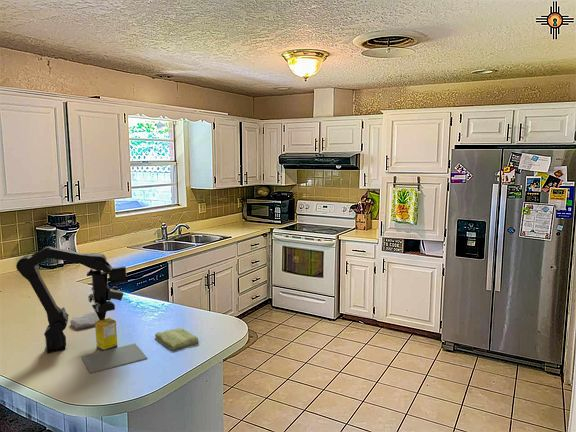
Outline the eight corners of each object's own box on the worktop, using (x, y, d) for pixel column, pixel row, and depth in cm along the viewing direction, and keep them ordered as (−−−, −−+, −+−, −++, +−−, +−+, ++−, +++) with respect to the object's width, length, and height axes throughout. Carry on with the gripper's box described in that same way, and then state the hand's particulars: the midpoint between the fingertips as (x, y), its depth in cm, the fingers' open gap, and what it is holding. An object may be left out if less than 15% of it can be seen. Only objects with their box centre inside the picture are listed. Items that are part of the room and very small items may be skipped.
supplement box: (110, 342, 178) (108, 317, 177) (117, 346, 174) (116, 320, 173) (96, 347, 173) (94, 321, 172) (103, 351, 170) (101, 324, 168)
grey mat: (90, 373, 152) (90, 372, 152) (81, 357, 165) (81, 356, 165) (147, 358, 164) (147, 357, 164) (135, 344, 177) (134, 343, 176)
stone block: (104, 327, 200) (95, 317, 206) (104, 318, 198) (95, 309, 205) (77, 335, 192) (69, 325, 198) (77, 326, 190) (69, 316, 197)
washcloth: (181, 331, 191) (181, 324, 191) (200, 344, 178) (200, 336, 177) (152, 339, 183) (152, 331, 183) (170, 353, 169) (170, 345, 169)
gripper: (127, 287, 173) (129, 324, 175) (114, 277, 188) (116, 312, 190) (97, 292, 166) (99, 331, 168) (87, 281, 181) (89, 317, 183)
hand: (102, 322), depth 178 cm, fingers closed
